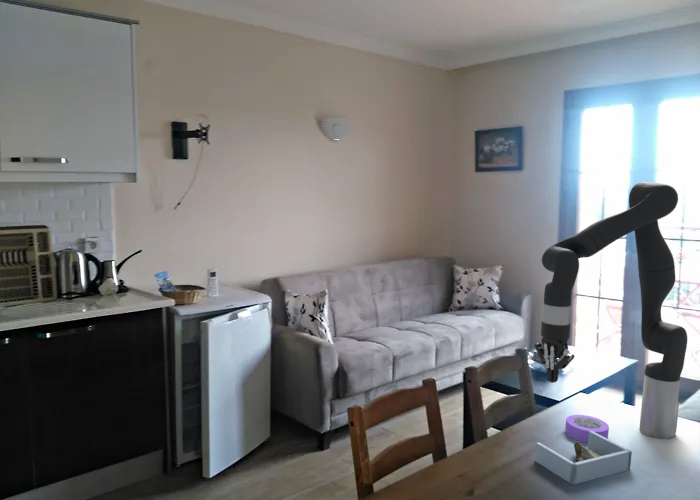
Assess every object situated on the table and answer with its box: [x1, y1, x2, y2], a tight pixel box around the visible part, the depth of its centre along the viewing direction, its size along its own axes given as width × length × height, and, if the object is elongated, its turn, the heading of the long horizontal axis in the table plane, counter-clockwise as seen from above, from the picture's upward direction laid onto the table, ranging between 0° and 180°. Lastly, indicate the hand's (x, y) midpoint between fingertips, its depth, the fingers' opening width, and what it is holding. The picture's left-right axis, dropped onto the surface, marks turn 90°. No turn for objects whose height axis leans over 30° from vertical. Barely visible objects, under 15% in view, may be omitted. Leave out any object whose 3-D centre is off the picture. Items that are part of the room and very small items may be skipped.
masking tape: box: [564, 414, 610, 444], centre depth 172 cm, size 12×12×4 cm
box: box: [534, 431, 633, 486], centre depth 153 cm, size 20×13×5 cm, turn 115°
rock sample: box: [573, 441, 601, 462], centre depth 155 cm, size 10×8×9 cm
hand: (551, 381), depth 162 cm, fingers closed
